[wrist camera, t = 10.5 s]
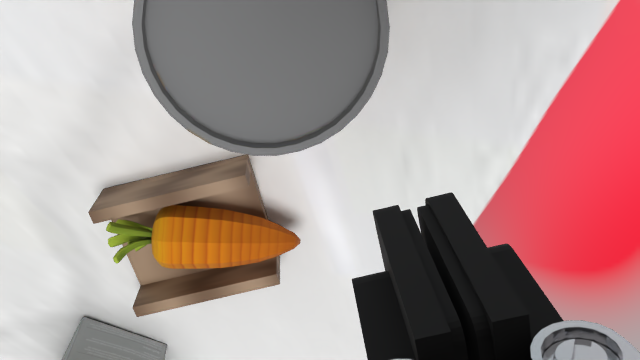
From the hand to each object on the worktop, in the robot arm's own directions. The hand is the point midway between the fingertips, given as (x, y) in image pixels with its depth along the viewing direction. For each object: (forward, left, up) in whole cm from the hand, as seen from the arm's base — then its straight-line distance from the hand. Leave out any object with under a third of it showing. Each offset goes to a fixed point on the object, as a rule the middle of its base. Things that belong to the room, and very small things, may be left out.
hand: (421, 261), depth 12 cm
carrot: (+5, +16, -29) cm, 34 cm away
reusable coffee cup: (+3, -2, -32) cm, 33 cm away
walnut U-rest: (+14, +14, -32) cm, 38 cm away
